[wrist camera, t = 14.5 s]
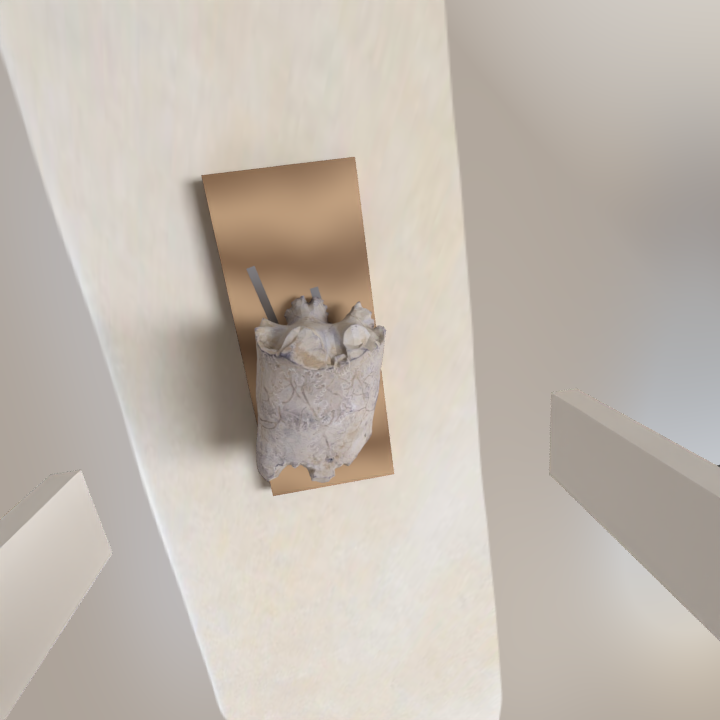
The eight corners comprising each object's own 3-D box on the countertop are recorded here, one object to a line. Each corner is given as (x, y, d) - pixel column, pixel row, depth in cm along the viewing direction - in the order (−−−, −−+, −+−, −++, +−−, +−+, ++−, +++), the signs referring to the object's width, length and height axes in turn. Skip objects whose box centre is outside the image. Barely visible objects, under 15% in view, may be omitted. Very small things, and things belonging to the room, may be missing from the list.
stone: (261, 448, 31) (248, 501, 24) (264, 293, 28) (250, 305, 21) (363, 449, 32) (377, 501, 25) (376, 300, 29) (397, 314, 22)
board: (207, 179, 27) (201, 175, 25) (352, 161, 28) (355, 156, 26) (274, 485, 33) (273, 496, 32) (390, 464, 34) (394, 474, 33)
